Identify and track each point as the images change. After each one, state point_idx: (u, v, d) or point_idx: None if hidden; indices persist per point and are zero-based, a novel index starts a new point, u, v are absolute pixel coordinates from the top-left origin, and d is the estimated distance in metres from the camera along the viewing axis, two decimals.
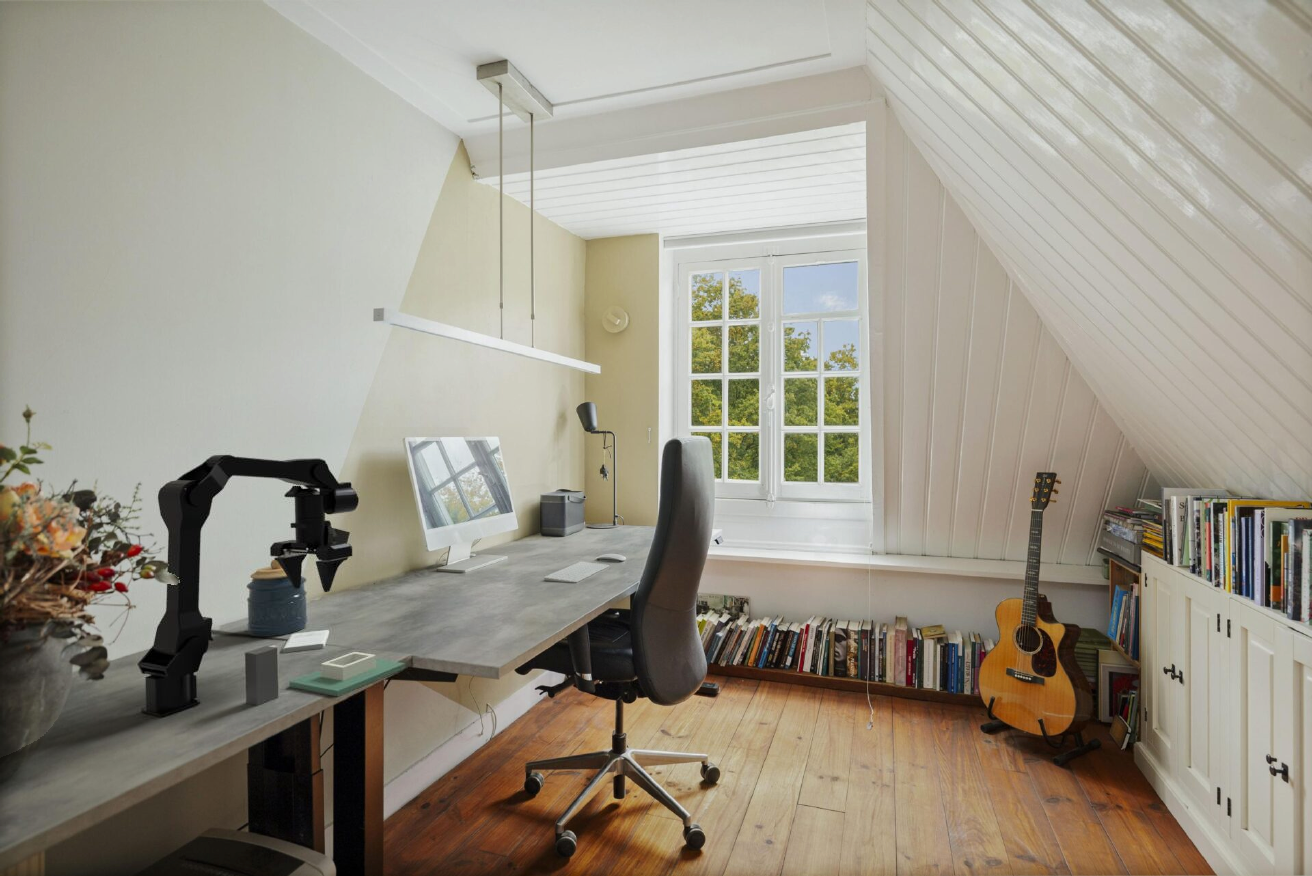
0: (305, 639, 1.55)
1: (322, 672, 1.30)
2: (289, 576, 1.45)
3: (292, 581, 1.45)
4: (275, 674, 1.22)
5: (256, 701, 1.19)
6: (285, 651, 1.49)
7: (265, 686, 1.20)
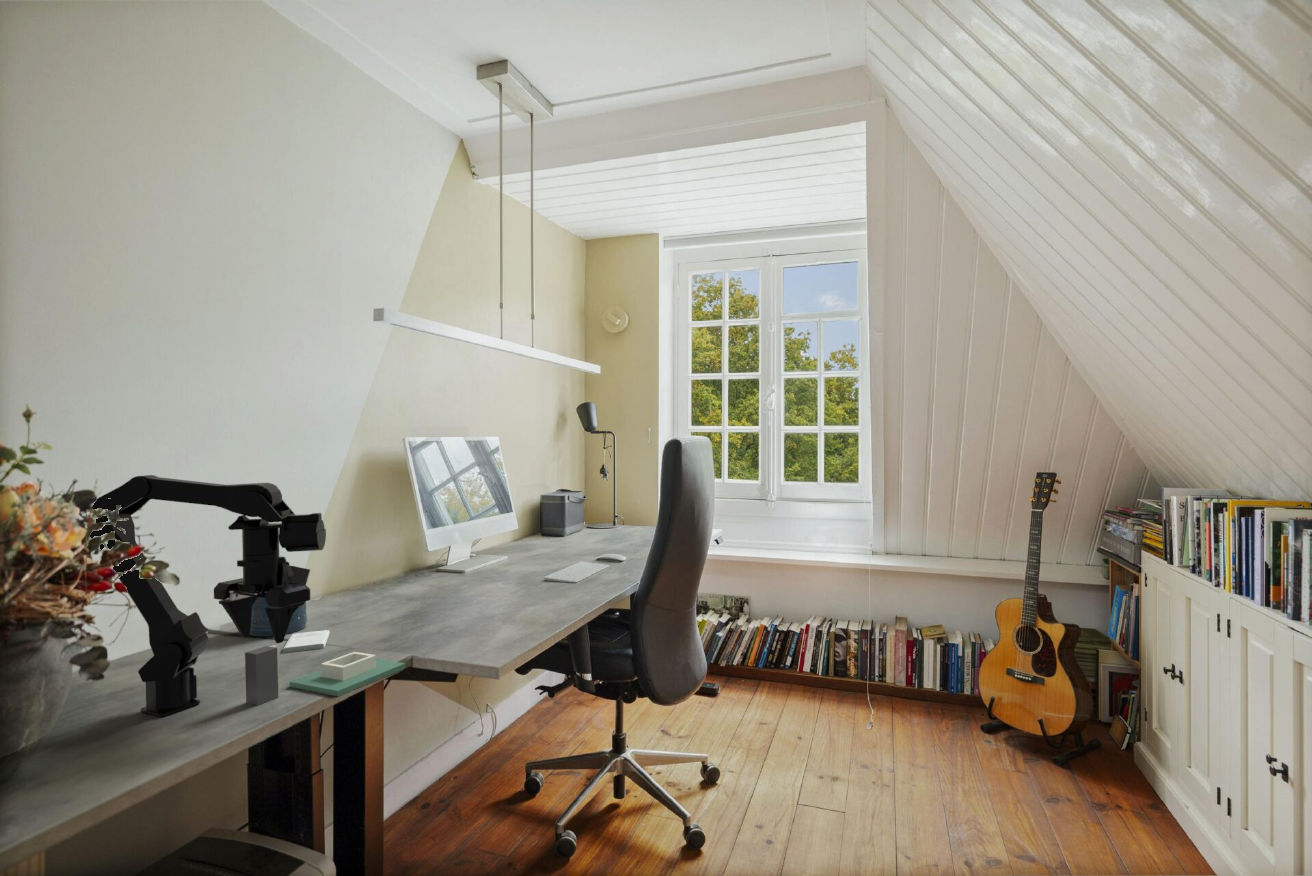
0: (305, 639, 1.55)
1: (322, 672, 1.30)
2: (236, 623, 1.22)
3: (239, 629, 1.22)
4: (275, 674, 1.22)
5: (256, 701, 1.19)
6: (285, 651, 1.49)
7: (265, 686, 1.20)
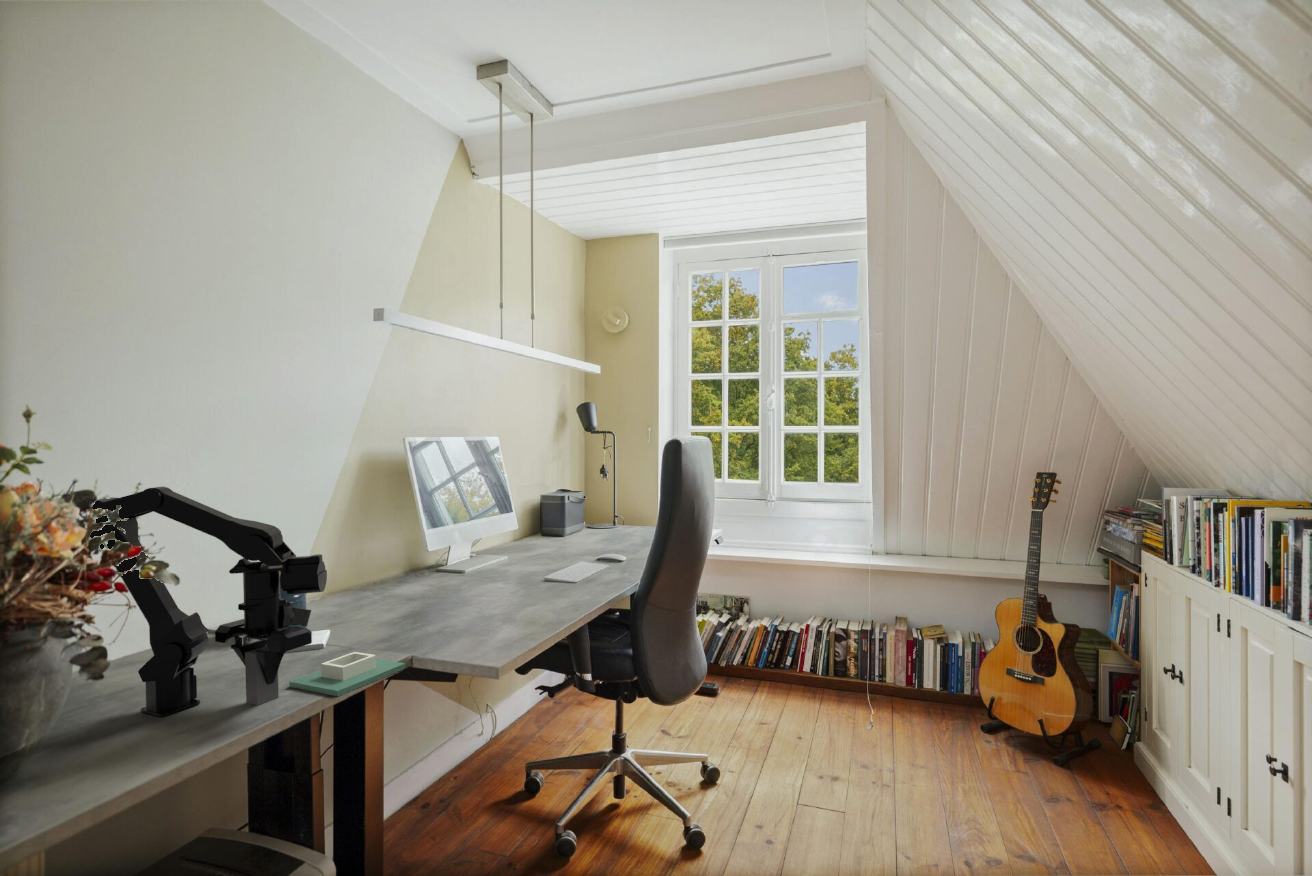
0: None
1: (322, 672, 1.30)
2: None
3: None
4: None
5: (256, 701, 1.19)
6: None
7: (265, 686, 1.20)
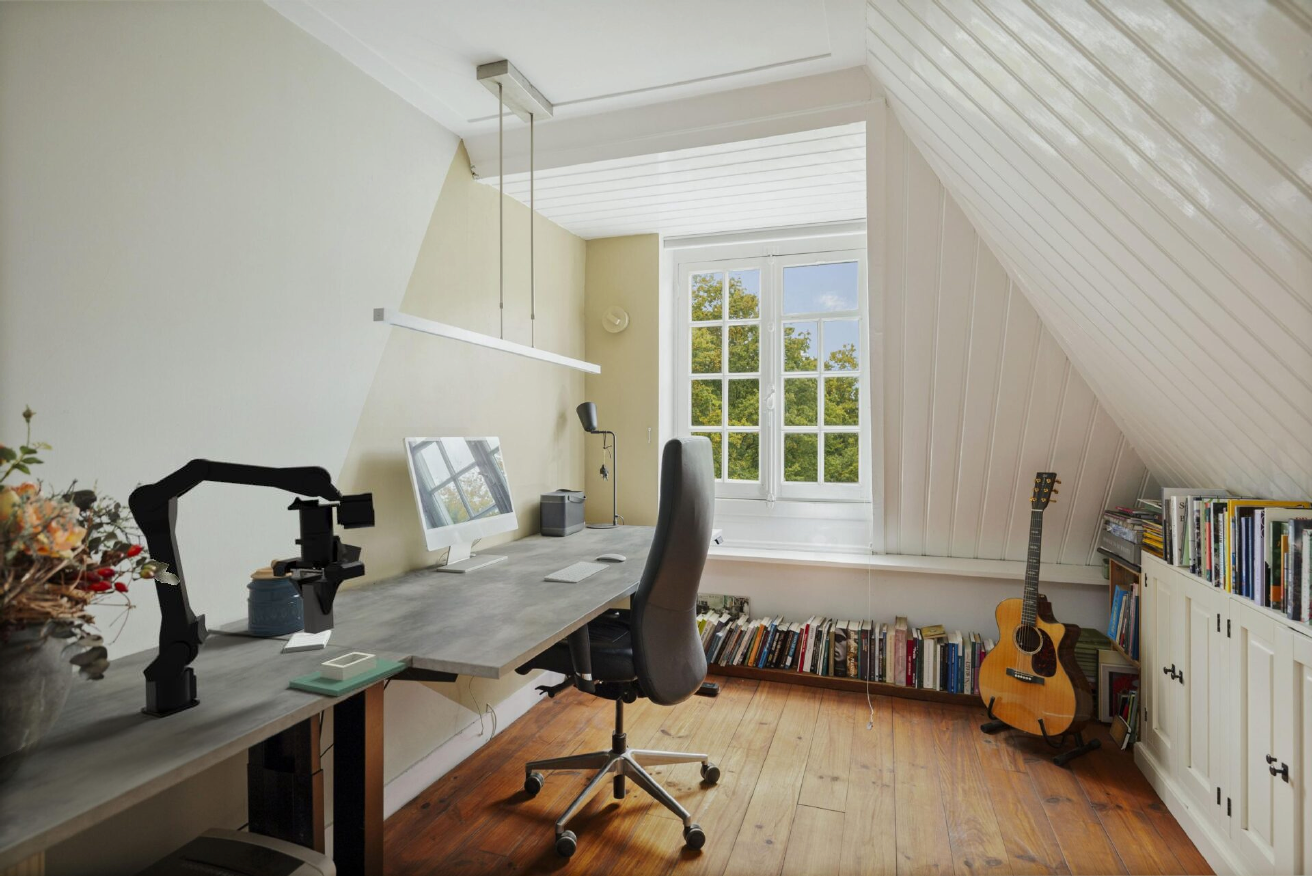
0: (306, 639, 1.55)
1: (322, 672, 1.30)
2: None
3: None
4: None
5: (314, 630, 1.26)
6: (286, 651, 1.49)
7: (322, 616, 1.27)
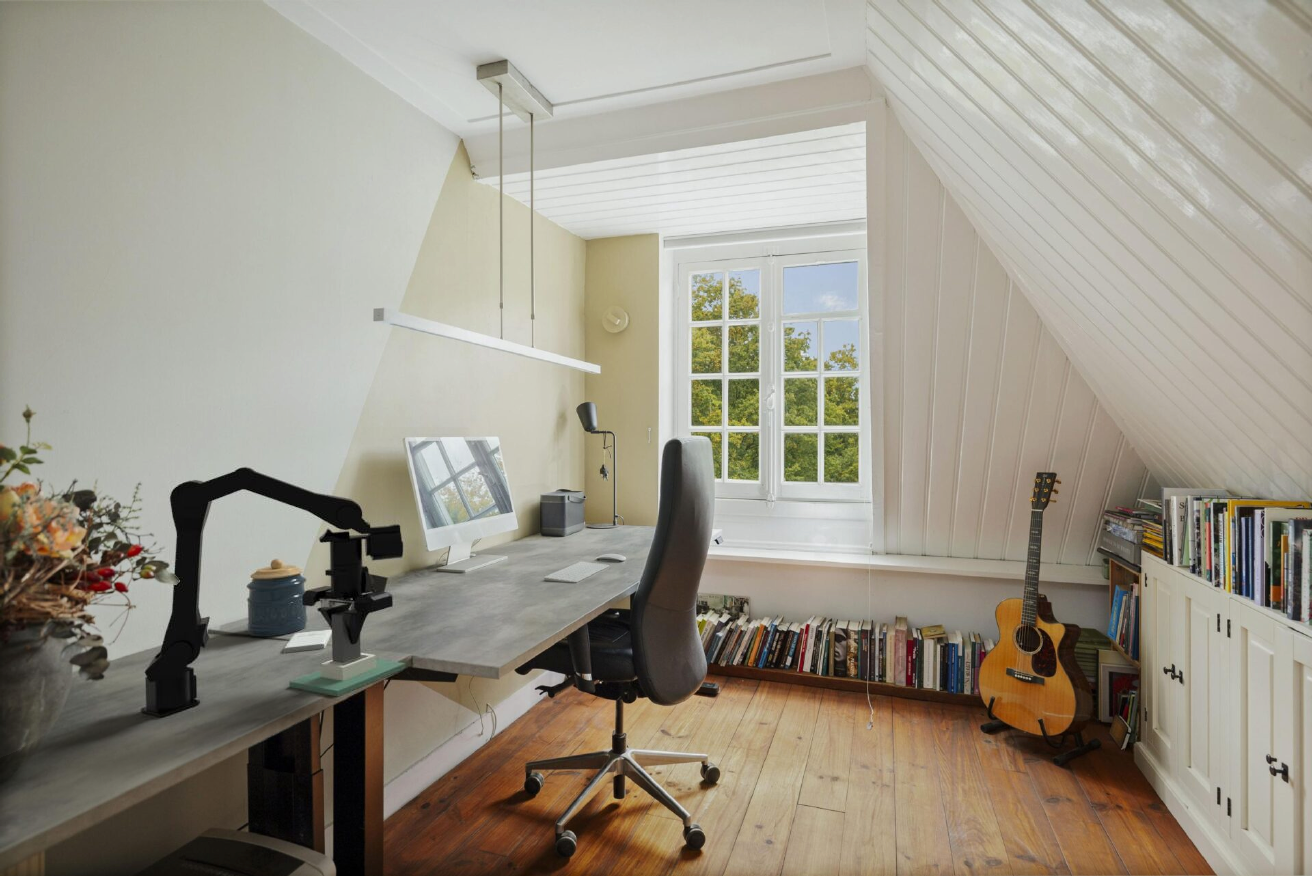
0: (307, 639, 1.55)
1: (322, 672, 1.30)
2: None
3: None
4: None
5: (342, 659, 1.29)
6: (286, 651, 1.49)
7: (350, 645, 1.31)
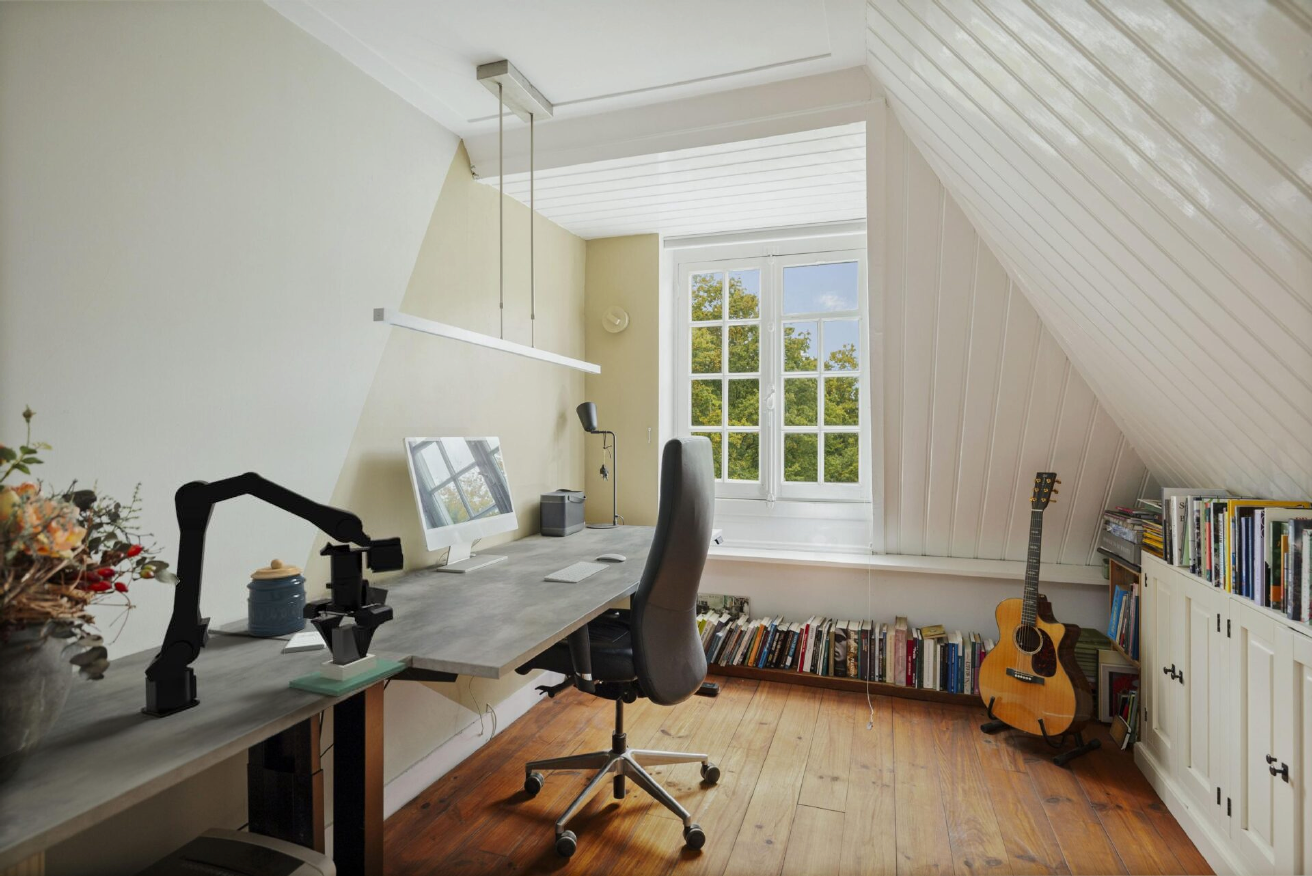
0: (307, 639, 1.55)
1: (322, 672, 1.30)
2: (326, 641, 1.32)
3: (329, 646, 1.33)
4: None
5: None
6: (286, 651, 1.49)
7: (350, 659, 1.31)
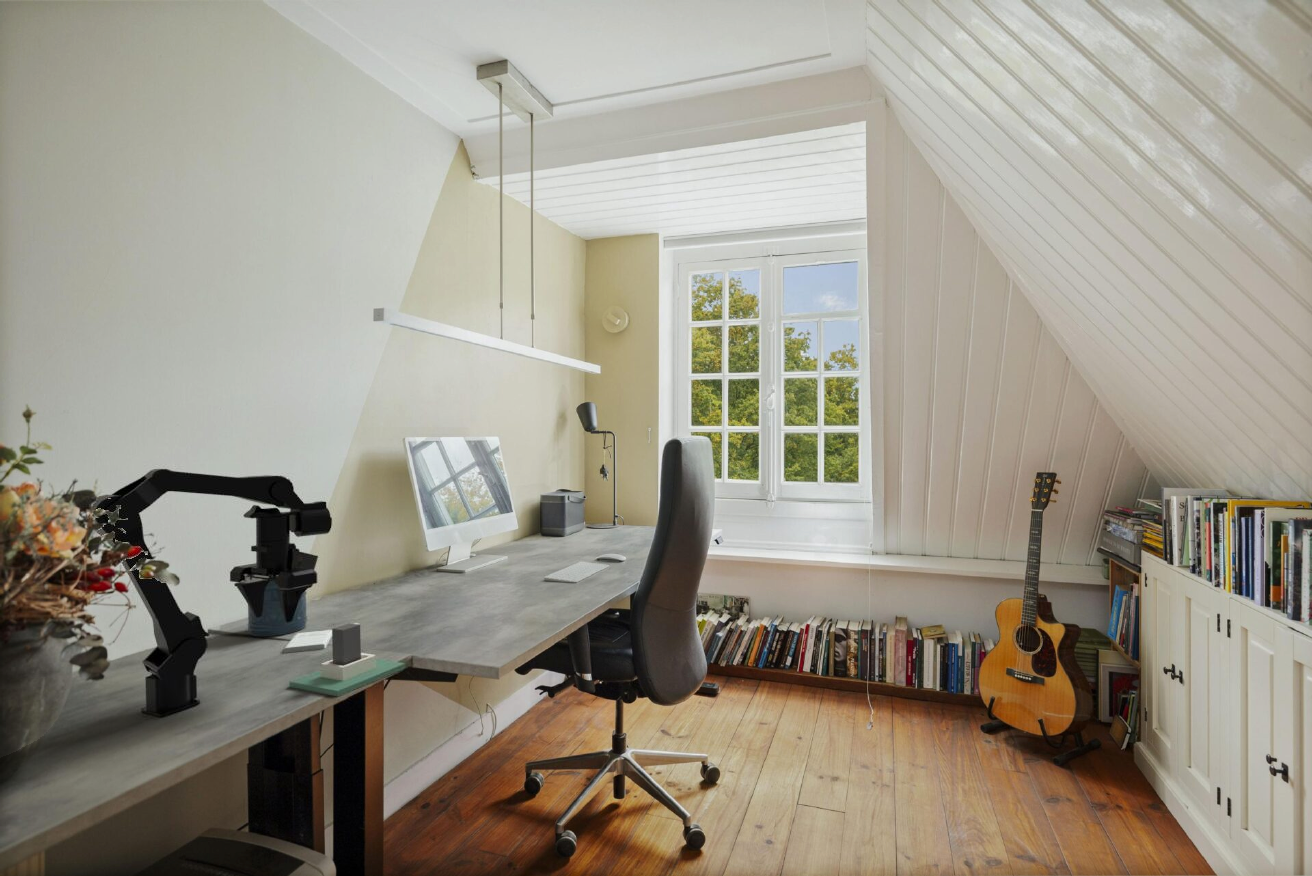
0: (308, 639, 1.55)
1: (322, 672, 1.30)
2: (249, 604, 1.33)
3: (253, 609, 1.33)
4: (358, 649, 1.32)
5: None
6: (286, 651, 1.49)
7: (350, 659, 1.31)
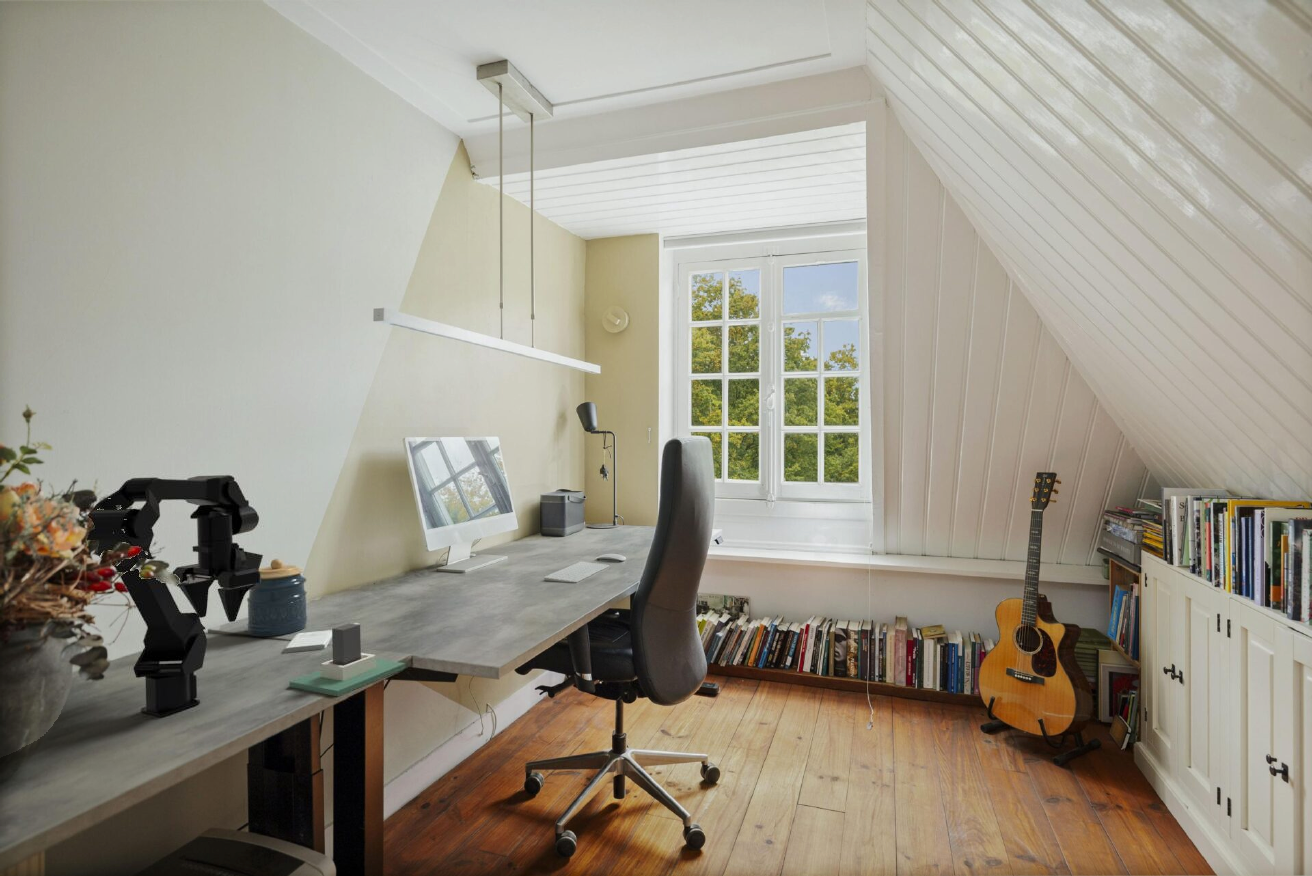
0: (308, 639, 1.55)
1: (322, 672, 1.30)
2: (193, 604, 1.33)
3: (196, 609, 1.33)
4: (358, 649, 1.32)
5: None
6: (287, 651, 1.49)
7: (350, 659, 1.31)
